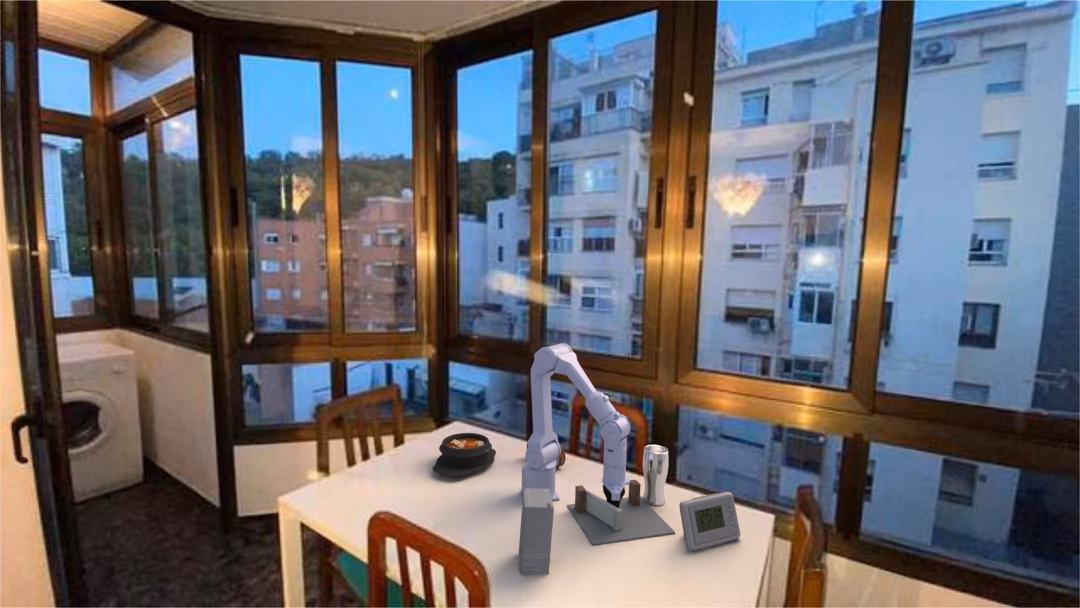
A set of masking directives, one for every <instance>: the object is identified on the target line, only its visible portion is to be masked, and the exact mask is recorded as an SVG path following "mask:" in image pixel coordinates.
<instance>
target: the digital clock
mask: <svg viewBox="0 0 1080 608" xmlns="http://www.w3.org/2000/svg"><path fill="white" fill-rule="evenodd" d="M678 506H679V513H680V517H681V525H682V531H683V536H684V542H685V547H686V549H687V550H688V551H690V552H693V551H697V550H704V549H703V548H705V549H708V548H707V547H709V548H712V547H716V546H719V544H720V545H723V544H722V543H724V544H727V543H730V542H731V541H735V540H737V539H739V538H740V537H741V530H740V524H739V521H738V520H739V519H738V515H737V509H736V504H735V499H734V495H733V494H732V492H730V491H723V492H719V493H718V492H717V493H711V494H706V495H702V496H697V497H693V498H692V499H687V500H683V501H681V502H680V503H679V504H678ZM726 542H727V543H726ZM711 546H712V547H711Z"/></svg>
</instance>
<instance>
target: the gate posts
mask: <svg viewBox="0 0 1080 608" xmlns="http://www.w3.org/2000/svg"><path fill="white" fill-rule="evenodd" d="M629 480H630V484H629V485H628V495H627V496H628V497H627V498H628V501H629V503H630V504H631V505H632V506H640V496H641V486H642V484H641V483H640V482H639V481H637V479H629ZM574 489H575V492H574V493H575V494H574V504H575V509H576V510H577V512H578V513H585V512H586V491H587V489H586V488H585V487H584V486H583V485H582V484H581V485H575V488H574Z"/></svg>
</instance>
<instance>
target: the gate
mask: <svg viewBox="0 0 1080 608" xmlns="http://www.w3.org/2000/svg"><path fill="white" fill-rule="evenodd" d="M605 500H606V499H603V498H601V497H600V496H598V495H596V494H595V493H593V492H591V491H590V490H586V511H588V512H589V513H591V514H592V515H594V516H595V517H597V518H599V519H600V520H602V521H603V522H605V523H606V524H608V525H610V526H611V527H613V529H614V530H616V531H617V530H620V529H622V516H623V510H622V509H620V508H617V507H615V506H613V505H612V504H610V503H608V502H607V501H605Z"/></svg>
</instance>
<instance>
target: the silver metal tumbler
mask: <svg viewBox="0 0 1080 608" xmlns="http://www.w3.org/2000/svg"><path fill="white" fill-rule="evenodd" d="M668 471H669V449H668V448H667V447H665V446H662V445H658V444H648V445H646V446H644V448H643V456H642V472H643V480H644V492H643V497H642V498H643V499H644V500H645V501H646V502H647V503H648V504H649V506H659V507H660V506H662V505H664V504H665V502H666V496H665V485H666V481H667V476H668Z"/></svg>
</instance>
